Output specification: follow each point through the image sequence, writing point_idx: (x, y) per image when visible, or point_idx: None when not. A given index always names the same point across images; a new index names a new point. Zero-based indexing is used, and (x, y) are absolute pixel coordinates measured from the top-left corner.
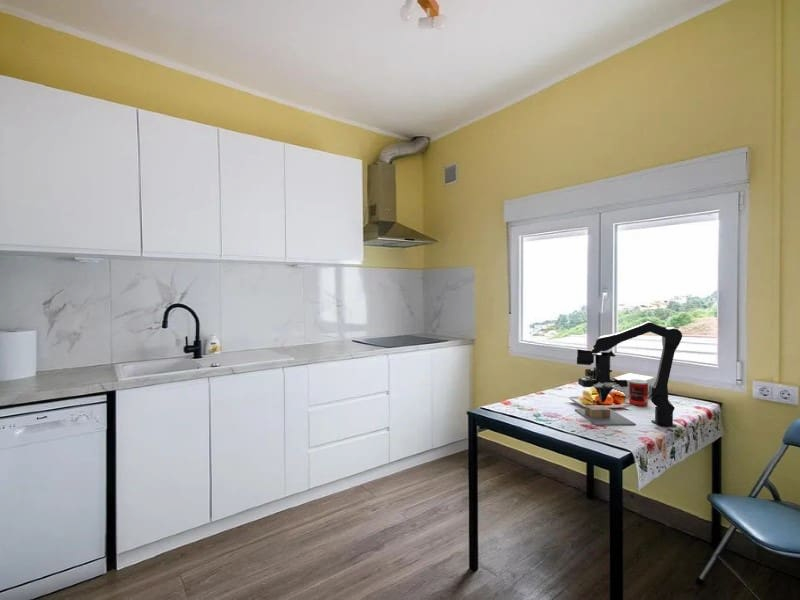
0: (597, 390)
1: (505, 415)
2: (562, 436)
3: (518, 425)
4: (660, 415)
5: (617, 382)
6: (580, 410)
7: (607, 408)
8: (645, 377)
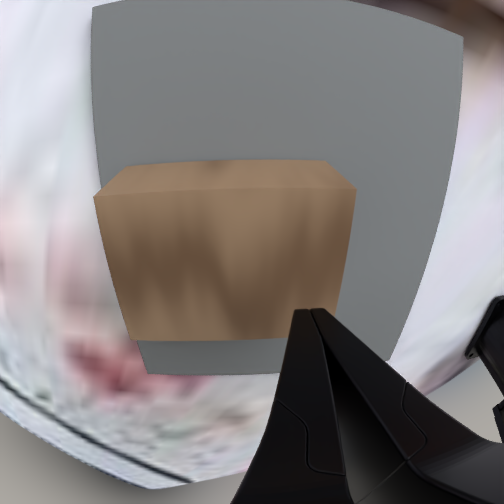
0: (254, 490)
1: None
2: (22, 415)
3: None
4: (499, 373)
5: None
6: (127, 48)
7: (325, 307)
8: None
